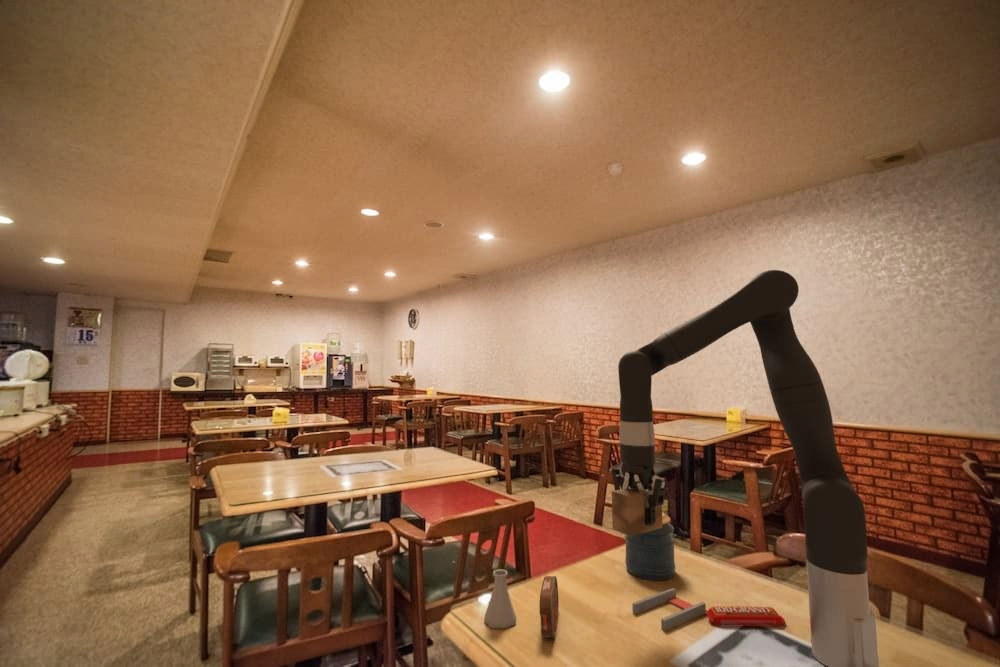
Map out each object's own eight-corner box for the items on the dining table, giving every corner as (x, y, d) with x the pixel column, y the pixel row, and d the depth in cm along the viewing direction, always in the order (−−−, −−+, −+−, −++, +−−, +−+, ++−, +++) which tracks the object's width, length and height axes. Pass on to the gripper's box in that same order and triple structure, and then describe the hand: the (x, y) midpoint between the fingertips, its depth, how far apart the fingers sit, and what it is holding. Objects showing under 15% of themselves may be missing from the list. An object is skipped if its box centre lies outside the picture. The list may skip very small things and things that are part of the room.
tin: (554, 647, 87) (553, 601, 88) (538, 645, 88) (537, 600, 89) (559, 608, 102) (559, 569, 103) (545, 606, 103) (545, 568, 103)
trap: (700, 610, 101) (700, 608, 101) (692, 614, 99) (692, 612, 99) (676, 598, 106) (676, 597, 106) (668, 602, 105) (668, 600, 105)
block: (662, 527, 97) (661, 490, 98) (630, 536, 92) (629, 496, 93) (644, 521, 102) (643, 485, 102) (612, 529, 96) (611, 491, 97)
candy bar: (711, 627, 95) (711, 613, 95) (704, 618, 98) (703, 604, 99) (788, 628, 94) (787, 613, 95) (777, 619, 98) (776, 605, 98)
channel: (705, 612, 100) (705, 603, 100) (664, 631, 93) (664, 620, 93) (673, 596, 107) (672, 587, 108) (632, 612, 100) (632, 603, 100)
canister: (642, 557, 131) (641, 495, 133) (684, 572, 121) (682, 504, 123) (615, 569, 123) (614, 503, 124) (658, 586, 113) (656, 514, 114)
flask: (488, 632, 92) (488, 581, 93) (480, 614, 99) (480, 567, 100) (521, 627, 94) (521, 577, 95) (511, 609, 101) (511, 563, 102)
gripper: (675, 444, 95) (678, 527, 93) (624, 436, 107) (626, 510, 105) (651, 447, 91) (654, 534, 89) (601, 439, 103) (603, 515, 102)
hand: (639, 520), depth 97 cm, fingers closed on block, 5 cm apart
